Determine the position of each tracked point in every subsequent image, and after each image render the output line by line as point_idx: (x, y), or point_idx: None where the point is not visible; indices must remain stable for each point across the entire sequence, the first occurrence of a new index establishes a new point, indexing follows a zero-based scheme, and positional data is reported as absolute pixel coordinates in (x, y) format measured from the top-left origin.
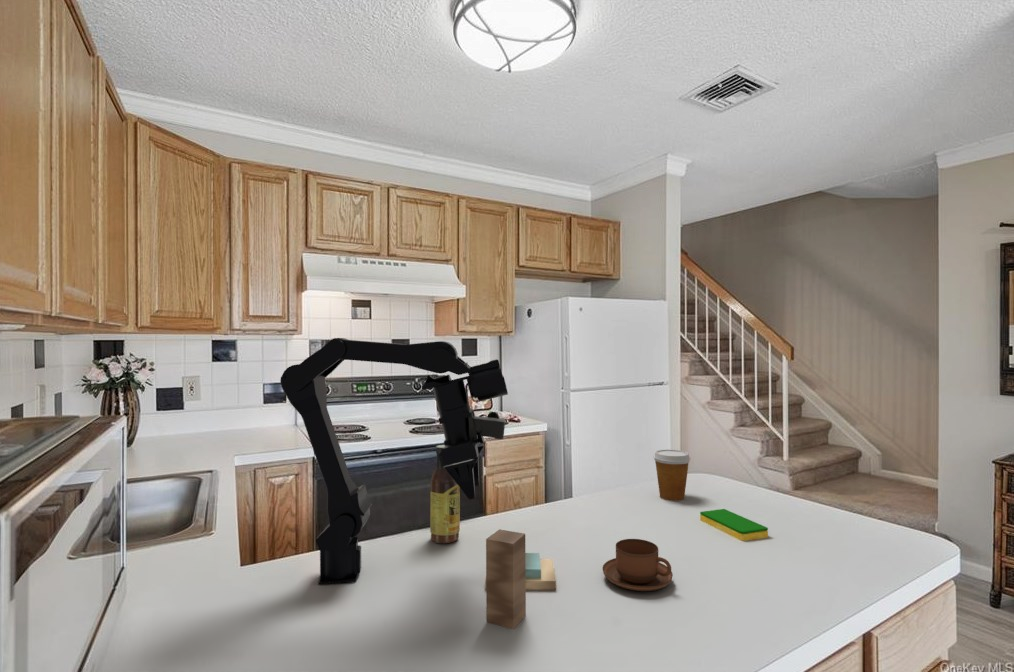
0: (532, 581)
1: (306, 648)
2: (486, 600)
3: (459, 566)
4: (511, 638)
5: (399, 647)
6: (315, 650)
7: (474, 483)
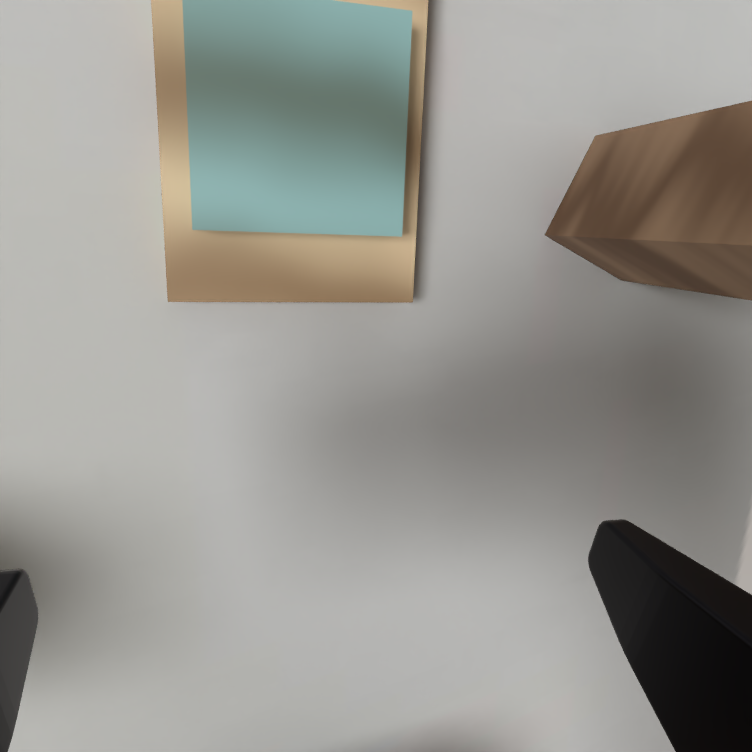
0: (422, 76)
1: None
2: (672, 287)
3: (176, 434)
4: None
5: (699, 501)
6: None
7: (24, 637)
